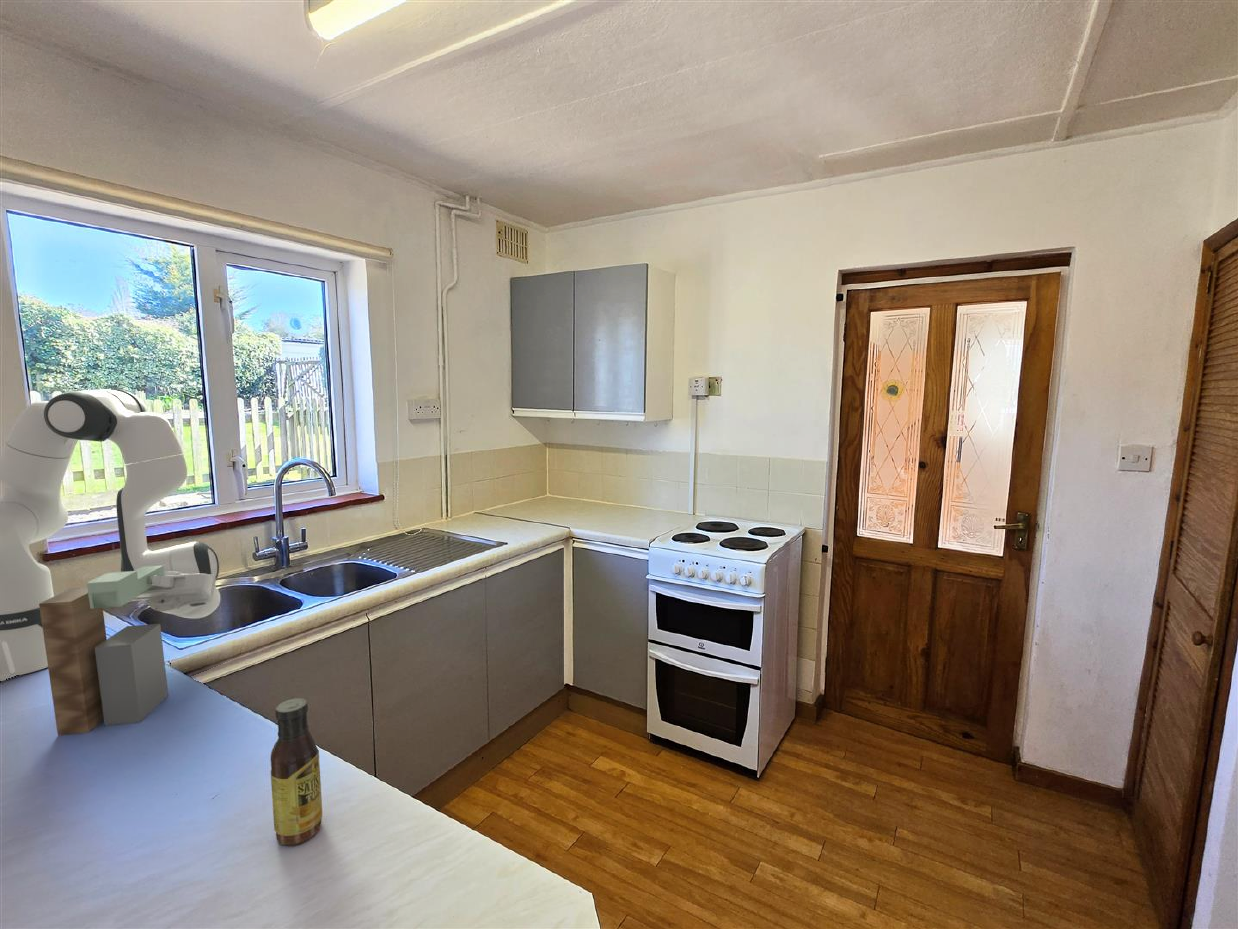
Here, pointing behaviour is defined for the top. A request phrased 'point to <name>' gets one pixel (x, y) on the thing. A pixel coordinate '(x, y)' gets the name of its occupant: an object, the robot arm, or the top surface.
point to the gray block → (131, 673)
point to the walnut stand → (73, 659)
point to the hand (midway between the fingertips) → (135, 580)
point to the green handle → (120, 586)
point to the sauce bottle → (295, 776)
